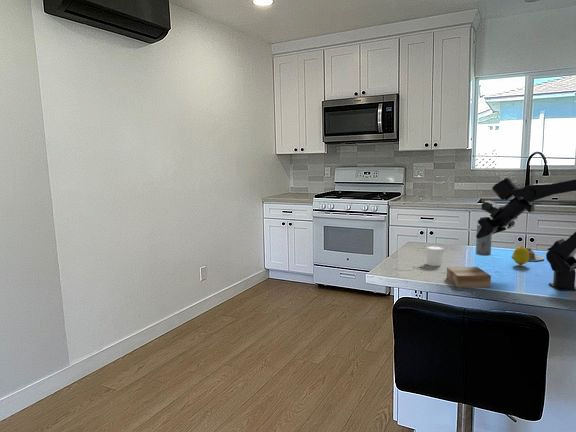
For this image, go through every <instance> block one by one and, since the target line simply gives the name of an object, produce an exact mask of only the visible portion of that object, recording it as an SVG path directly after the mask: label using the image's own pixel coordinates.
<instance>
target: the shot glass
mask: <svg viewBox="0 0 576 432" xmlns="http://www.w3.org/2000/svg"><path fill="white" fill-rule="evenodd" d="M425 249H426V250H425V251H426V264H427V265H428V266H433V267H440V266H442V262H443V255H444V247H442V246H436V245H435V246H434V245H429V246H428V245H427V246H426V247H425Z"/></svg>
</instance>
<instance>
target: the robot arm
mask: <svg viewBox="0 0 576 432" xmlns="http://www.w3.org/2000/svg"><path fill="white" fill-rule="evenodd" d="M491 191H492V192H494V194H495V195H496V196H497V197H498V198H499V199H500V200H501V201H503V202H504V201H506V202H507V203H506V204H505V205H504V206H501V205H500V204H498V203H496V202H494V201H492V200H485V201H484V202H483V203H481V208H480V209H481V210H482V211H485V212H486V213H488V214H489V216H490V217H489V216H484V217H481V218H479V219H478V220H477V221H478V223H479V224H480V226H481V229H480V231H479V232H478V234H477V233H476V235H475V237H477V238H481V237H484V236H487V235H491V234H492V235H494V234H497V233H501V232H503V231H506V230H510V229H512V228H513V227H515V225H516V222H515V220H517V219H519V216H521V214H523V213H525V211H527V212H528V213H533V212H535V204H534V203H531V202H535V201H536V202H537V201H540V200H544V199H547V198H549V197H553V196H554V195H559V194H563V193H569V192H575V191H576V178H575V179H571V180H566V181H560V182H556V183H554V182H553V183H534V184H527V185H525V186H523V187H517V186H516V185H515V183H514V182H513V181H512V180H511V179H510V177H504V179H502V180H501V181H499V182H497V183H495V184H494V185H493V186H492V187H491ZM575 255H576V231H575V232H573V234H571V236H569V237H568V238H567V239H564V238H560V239H558V240H556V241H554V242H553V244H552V245H551V247H549V248H547V252H546V254H545V256H546V261H547V262H548V263H549V265H550V267H551V271H552V272H553V281H552V282H549V283H548V285H549V286H551V287H553V288H555V289H556V290H559V291H576V285H575V284H576V257H575Z"/></svg>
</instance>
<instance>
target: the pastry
mask: <svg viewBox="0 0 576 432" xmlns="http://www.w3.org/2000/svg"><path fill="white" fill-rule="evenodd" d="M525 248H526V249H527V250H528V252H529V260H528V262H540V261H541V262H542V261H543V260H545V257H544V256H542V255H539V254H535V252H534V251H533V250H532V248H529V247H525ZM511 256H512V257H513V254H511Z"/></svg>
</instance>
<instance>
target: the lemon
mask: <svg viewBox="0 0 576 432" xmlns="http://www.w3.org/2000/svg"><path fill="white" fill-rule="evenodd" d="M526 248H527V247H524V246H522V245H521V246H519V247H516V248H515V250H514V251H513V253H512V255H513V256H512V258H513V260H514V263H516V264H518V265H519V266H520V267H522V266H523V265H526V263H528V262H529V261H528V260H529V252H528V250H527V249H526Z"/></svg>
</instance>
